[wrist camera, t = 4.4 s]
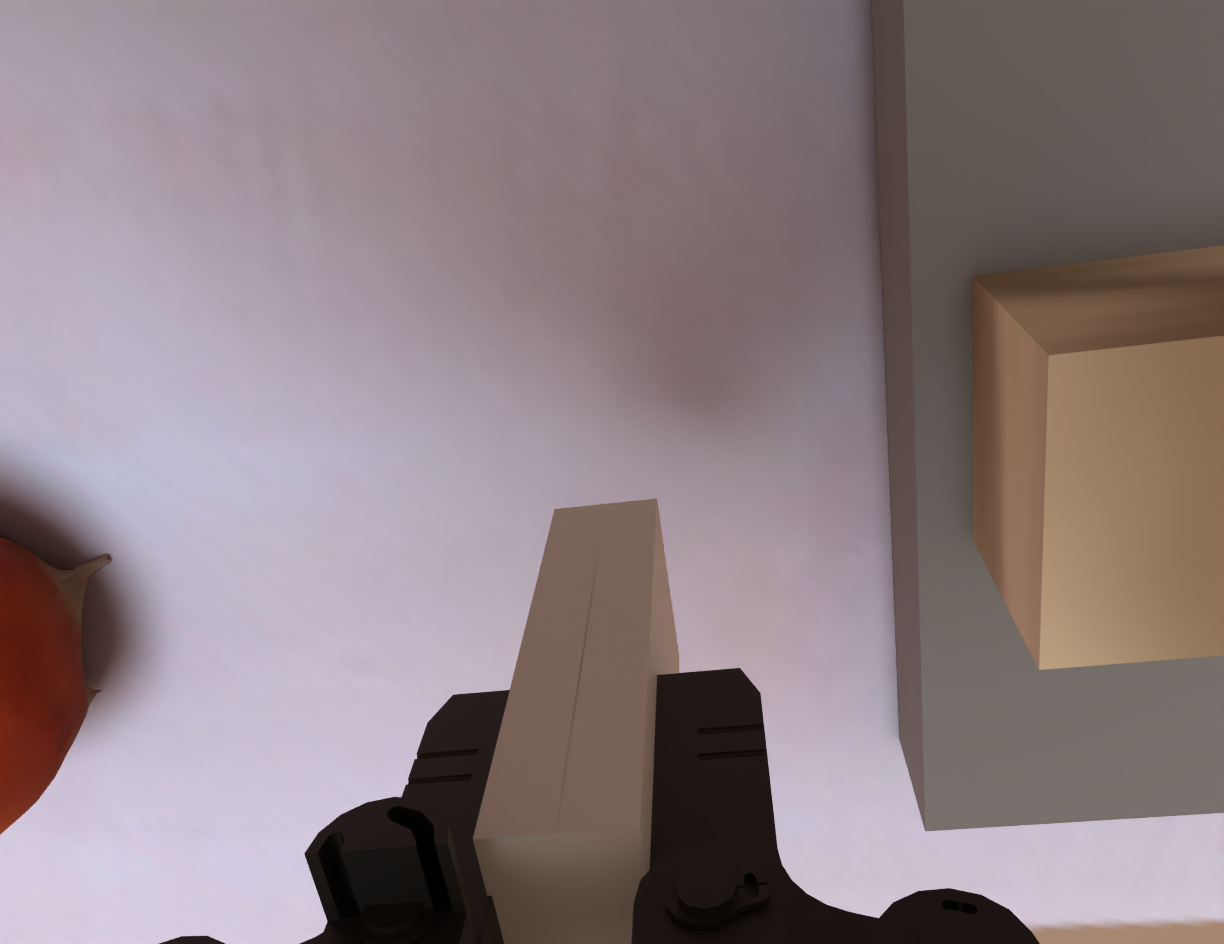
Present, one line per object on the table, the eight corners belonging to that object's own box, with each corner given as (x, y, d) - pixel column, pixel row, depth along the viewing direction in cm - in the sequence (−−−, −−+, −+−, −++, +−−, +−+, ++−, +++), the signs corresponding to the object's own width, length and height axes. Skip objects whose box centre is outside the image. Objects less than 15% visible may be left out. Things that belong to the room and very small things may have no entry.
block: (973, 540, 19) (1039, 669, 16) (972, 275, 17) (1048, 355, 14) (1260, 513, 19) (1397, 641, 15) (1296, 236, 17) (1463, 308, 13)
